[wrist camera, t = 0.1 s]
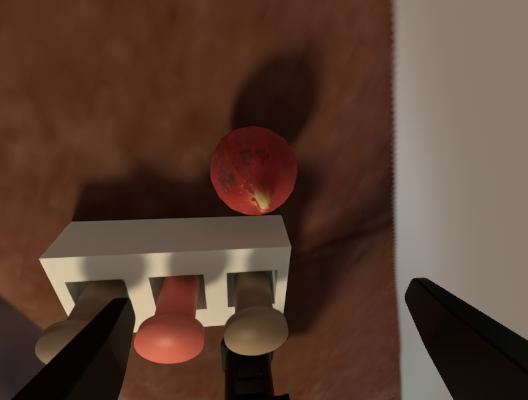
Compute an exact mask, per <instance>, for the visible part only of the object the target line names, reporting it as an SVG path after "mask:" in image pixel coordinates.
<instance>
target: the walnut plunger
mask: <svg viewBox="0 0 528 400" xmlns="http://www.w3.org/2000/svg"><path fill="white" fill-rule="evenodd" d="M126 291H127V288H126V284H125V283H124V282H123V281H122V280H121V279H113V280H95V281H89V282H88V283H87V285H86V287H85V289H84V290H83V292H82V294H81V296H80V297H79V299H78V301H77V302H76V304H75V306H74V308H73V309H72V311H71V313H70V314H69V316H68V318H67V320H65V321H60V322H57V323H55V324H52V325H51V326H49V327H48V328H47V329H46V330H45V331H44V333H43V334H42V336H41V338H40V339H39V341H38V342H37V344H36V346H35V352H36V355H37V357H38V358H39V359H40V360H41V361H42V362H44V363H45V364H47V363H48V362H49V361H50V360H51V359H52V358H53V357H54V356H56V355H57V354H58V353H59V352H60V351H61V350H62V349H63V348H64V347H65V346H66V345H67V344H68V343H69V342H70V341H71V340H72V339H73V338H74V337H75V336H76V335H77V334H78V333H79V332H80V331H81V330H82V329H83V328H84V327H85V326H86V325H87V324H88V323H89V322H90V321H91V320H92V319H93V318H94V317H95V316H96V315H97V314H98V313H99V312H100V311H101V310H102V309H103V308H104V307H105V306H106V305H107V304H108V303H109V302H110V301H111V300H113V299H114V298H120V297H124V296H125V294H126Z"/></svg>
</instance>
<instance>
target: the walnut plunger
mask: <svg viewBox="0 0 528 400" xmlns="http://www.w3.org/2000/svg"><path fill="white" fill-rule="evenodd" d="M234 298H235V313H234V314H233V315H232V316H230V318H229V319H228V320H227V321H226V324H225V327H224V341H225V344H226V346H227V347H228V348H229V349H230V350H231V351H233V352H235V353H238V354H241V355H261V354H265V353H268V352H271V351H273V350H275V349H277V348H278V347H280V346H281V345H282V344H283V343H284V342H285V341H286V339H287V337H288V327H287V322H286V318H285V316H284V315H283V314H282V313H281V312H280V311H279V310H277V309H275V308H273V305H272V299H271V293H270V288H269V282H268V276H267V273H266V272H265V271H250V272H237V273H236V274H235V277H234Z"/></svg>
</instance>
